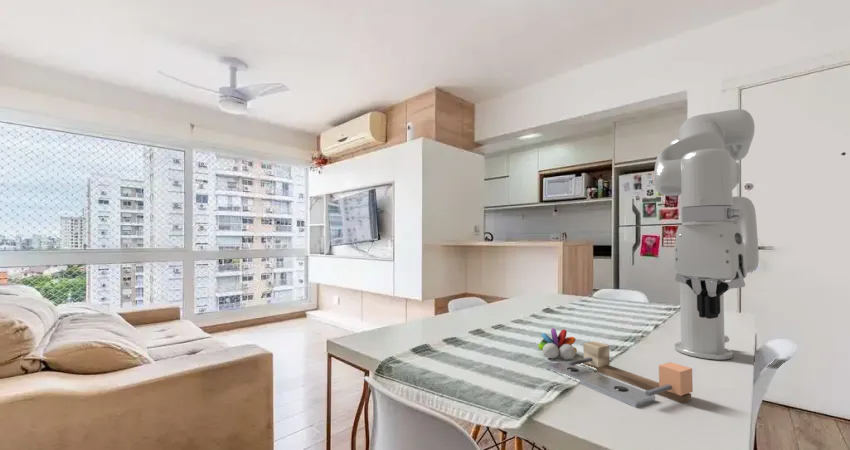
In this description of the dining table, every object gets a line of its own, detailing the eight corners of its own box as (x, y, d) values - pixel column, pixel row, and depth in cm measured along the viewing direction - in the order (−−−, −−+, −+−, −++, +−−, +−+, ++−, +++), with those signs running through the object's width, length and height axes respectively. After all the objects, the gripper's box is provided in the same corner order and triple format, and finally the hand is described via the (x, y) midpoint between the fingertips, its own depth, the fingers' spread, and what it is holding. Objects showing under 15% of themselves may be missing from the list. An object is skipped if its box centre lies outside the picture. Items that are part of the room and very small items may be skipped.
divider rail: (588, 362, 93) (587, 339, 93) (692, 399, 72) (692, 370, 72) (556, 369, 88) (556, 345, 88) (658, 411, 67) (658, 380, 67)
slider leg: (671, 384, 75) (670, 362, 75) (692, 391, 72) (692, 368, 72) (637, 395, 70) (636, 371, 70) (658, 403, 67) (657, 378, 67)
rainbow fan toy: (580, 362, 93) (579, 333, 93) (540, 360, 95) (539, 331, 95) (573, 352, 101) (573, 325, 102) (536, 350, 103) (536, 323, 104)
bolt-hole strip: (565, 365, 91) (565, 360, 91) (655, 400, 71) (655, 395, 71) (547, 369, 88) (546, 364, 88) (635, 407, 68) (635, 401, 69)
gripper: (767, 215, 63) (770, 323, 63) (675, 219, 77) (677, 308, 76) (746, 214, 60) (749, 328, 59) (653, 218, 73) (655, 311, 73)
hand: (708, 317), depth 68 cm, fingers closed
